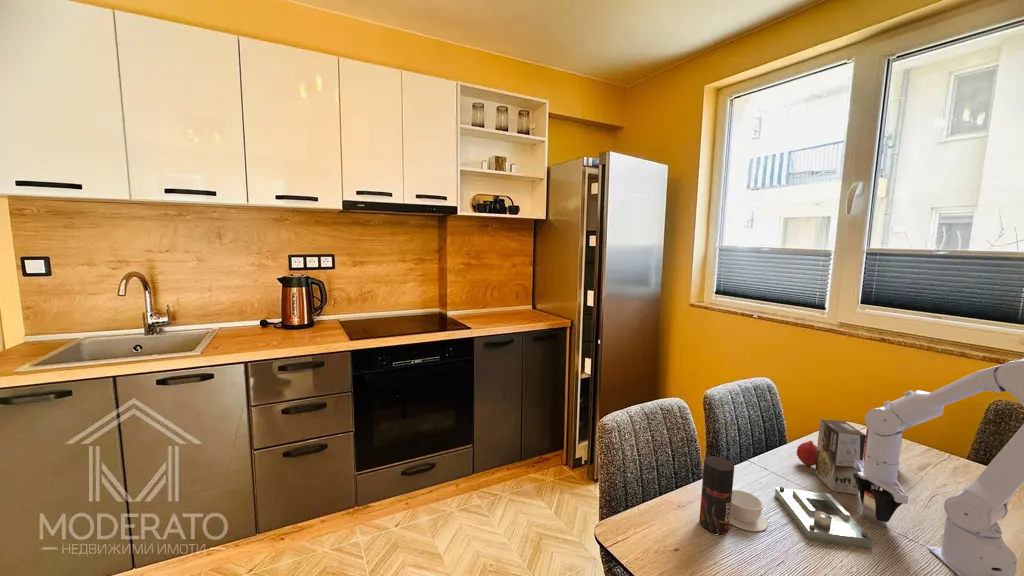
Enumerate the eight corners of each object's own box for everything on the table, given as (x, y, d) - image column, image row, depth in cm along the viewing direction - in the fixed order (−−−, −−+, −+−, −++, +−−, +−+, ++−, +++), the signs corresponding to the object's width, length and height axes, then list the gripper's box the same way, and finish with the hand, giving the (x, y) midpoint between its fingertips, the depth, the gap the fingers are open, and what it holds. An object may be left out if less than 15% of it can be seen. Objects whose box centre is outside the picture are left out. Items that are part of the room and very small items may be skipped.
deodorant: (724, 539, 86) (730, 473, 85) (695, 526, 90) (700, 463, 89) (731, 525, 91) (737, 462, 89) (703, 513, 95) (708, 453, 93)
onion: (791, 463, 119) (793, 437, 118) (802, 459, 121) (805, 434, 120) (812, 473, 113) (815, 446, 112) (824, 469, 116) (827, 442, 115)
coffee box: (860, 495, 104) (867, 435, 102) (831, 491, 105) (838, 432, 103) (839, 475, 113) (845, 420, 111) (813, 472, 114) (819, 418, 112)
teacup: (743, 536, 88) (744, 516, 87) (709, 508, 97) (710, 489, 97) (778, 529, 90) (780, 509, 90) (742, 501, 100) (743, 484, 99)
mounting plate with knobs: (871, 549, 85) (874, 530, 84) (808, 540, 87) (810, 521, 86) (827, 502, 100) (829, 486, 100) (774, 495, 103) (776, 480, 102)
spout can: (892, 527, 91) (896, 495, 91) (869, 524, 92) (873, 492, 91) (878, 515, 96) (882, 483, 95) (856, 512, 97) (860, 481, 96)
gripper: (842, 441, 100) (836, 492, 102) (884, 473, 86) (876, 532, 88) (875, 444, 99) (868, 496, 100) (922, 477, 85) (914, 537, 86)
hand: (874, 513), depth 94 cm, fingers closed on spout can, 4 cm apart
